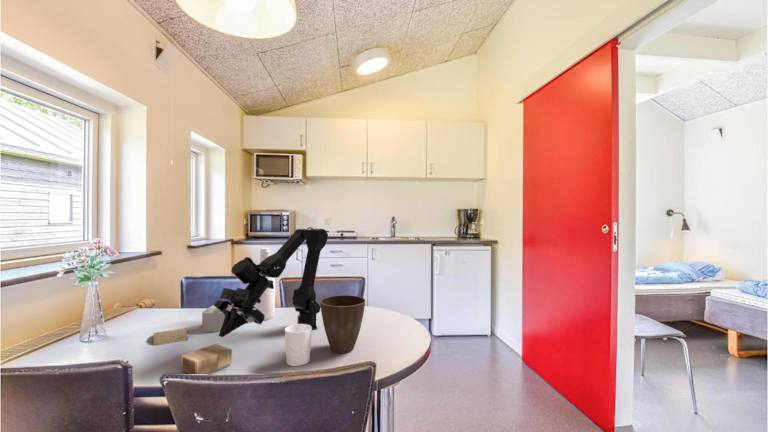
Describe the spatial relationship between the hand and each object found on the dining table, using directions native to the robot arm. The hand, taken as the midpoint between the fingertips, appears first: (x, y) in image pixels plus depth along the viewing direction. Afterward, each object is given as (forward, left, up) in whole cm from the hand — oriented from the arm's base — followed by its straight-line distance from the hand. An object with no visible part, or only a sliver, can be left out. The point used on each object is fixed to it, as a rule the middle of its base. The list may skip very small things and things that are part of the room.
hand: (220, 336), depth 95 cm
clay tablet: (+18, -29, -8) cm, 35 cm away
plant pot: (-36, +4, -8) cm, 38 cm away
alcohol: (-14, -41, -8) cm, 44 cm away
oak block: (-1, -1, -5) cm, 5 cm away
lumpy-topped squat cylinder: (+1, -34, -8) cm, 35 cm away
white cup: (-21, +8, -8) cm, 24 cm away
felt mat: (+3, +2, -8) cm, 9 cm away
